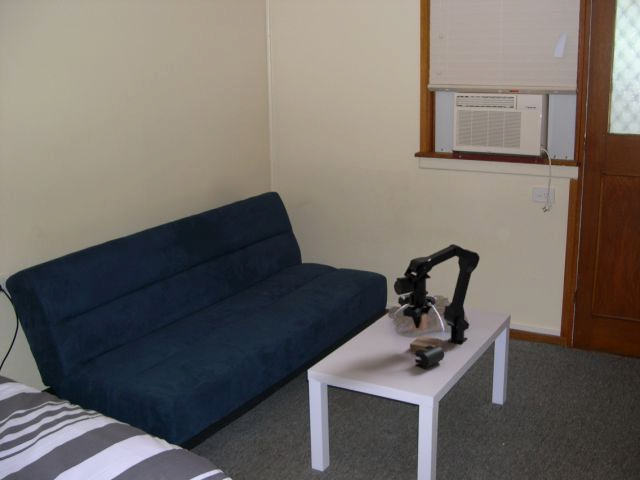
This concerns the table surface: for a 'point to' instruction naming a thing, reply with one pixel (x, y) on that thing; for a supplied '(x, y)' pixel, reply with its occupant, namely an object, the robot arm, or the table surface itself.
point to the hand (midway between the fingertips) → (419, 325)
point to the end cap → (429, 356)
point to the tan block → (424, 343)
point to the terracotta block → (423, 323)
